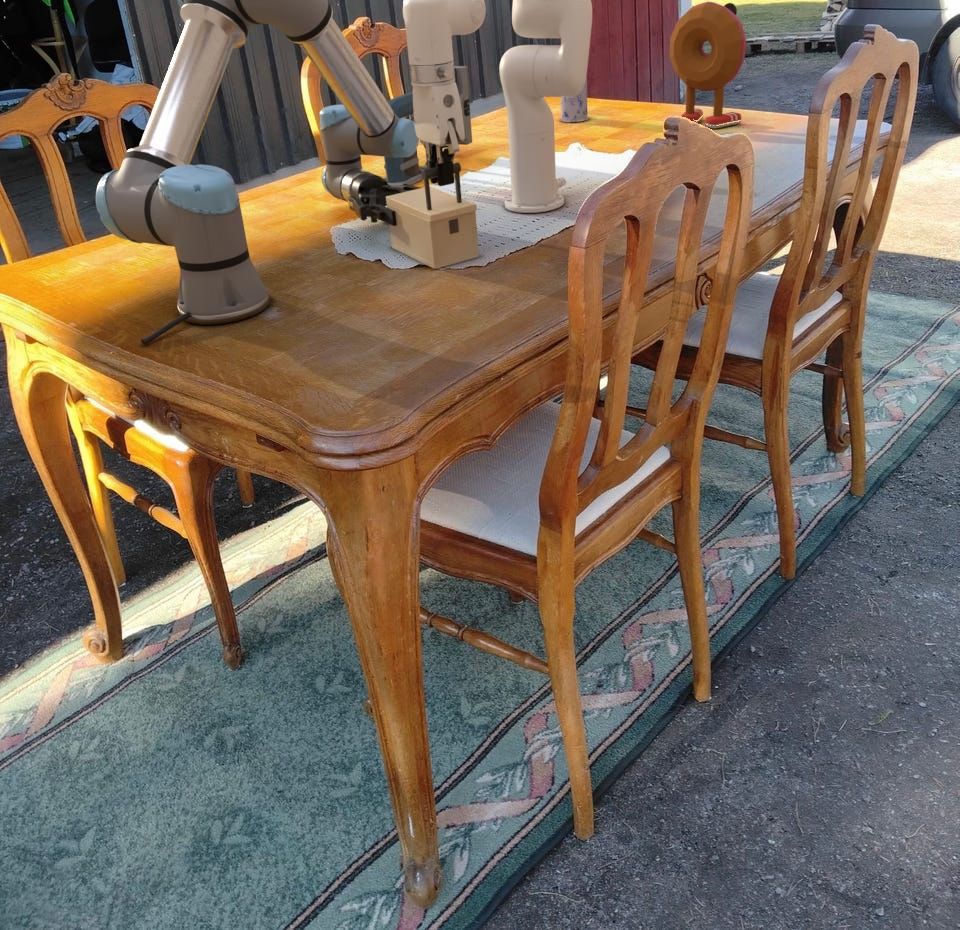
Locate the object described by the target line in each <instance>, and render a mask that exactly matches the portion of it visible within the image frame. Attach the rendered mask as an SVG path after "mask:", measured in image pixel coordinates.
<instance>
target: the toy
mask: <svg viewBox="0 0 960 930" xmlns="http://www.w3.org/2000/svg"><path fill="white" fill-rule="evenodd" d="M737 12H738V10H737V6H736V5H735V4H734V3H732V2H728V3H726V4H724V5H723V4H719V3H717V2H714V1H705V2H702V3H701V2H700V3H698V4H695V5H693V6H692V7H691V8H689V9H688V10H687V11H686V12H685V13H684V14H683V15H682V16H681V17H679V19H678V20H677V21H676V23H675V26H674V29H673V30H672V32H671V36H670V38H669V59H670V62H671V65H672V68H673V70H674V74H675V75H676V76H677V77H678V78H679V79H680V80H681V81H682V82H683V83H684V85H685V111H684V112H683V113H682V114H681V115H680V116H682V117H686V118H688V119H690V120H691V121H694V120H698V119H699V118H700V117H701V116H702V115H703V117H702V118H701V119H700V120H699V121H697V122H696V121H694V122H696V123H697V124H698V123H699V122H700V121H701V120H702V119H703V118H704V112H703V110H702V109H700V108H695V106H696V90H698V91H699V92H700V91H701V92H712V91H714V92H713V97H714V99H713V109H712V110H713V111H712V112H713V113H712V115H709V116H706V117H705V119H704V127H706V128H709V129H721V128H725V127H730V126H734V125H735V126H736V125H738V124H741V123H742V114H741V113H739V112H735V111H730V112H725V113H723V109H724V94H725V86H726V85H728V84H730V82H732V81H733V80H735V78H736V77H737V76H738V74H739V72H740V70H741V68H742V66H743V63H744V62H745V58H746V49H747V39H746V34H745V31H744V27H743V24H742V22H741V20H740V19H739V17H738V16H737V14H738V13H737ZM706 42H708V43H709V44H710V47H711V48H710V49H711V50H710V52H709V53H706V52H705V51H704V44H705V43H706ZM693 119H694V120H693ZM738 120H741V121H739V122H734V123H729V124H724V125H719V124H723V123H727V122H733V121H738ZM705 123H706V124H708V125H706V124H705ZM710 125H711V126H710ZM713 125H714V126H713ZM716 125H719V126H716Z"/></svg>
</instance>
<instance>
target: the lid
mask: <svg viewBox="0 0 960 930" xmlns="http://www.w3.org/2000/svg"><path fill="white" fill-rule="evenodd" d="M453 169H454V180H455V182H454V184H455V195H453V194H451V193H448V192H445V191H442V190H441V189H438V188H435V187H432V186H431V185H430V179H432V178H436V177H437V172H436V167H434V168H430V169H425V170H422V171H421V176H422V178H423V179H422V180H423V184H424V185H423V186H424V187H422V188H420V189H416V190H411V191H407V192H403V193H399V194H394V195H390V196H386V202H387V203H389V204H391V205H393V206H395V207H398V208H400V209H402V210H405V211H407V212H409V213H411V214H414V215H416V216H418V217H421V218H423V219H425V220H428V221H430V222H434V221H438V220H442V219H446V218H450V217H453V216H457V215H461V214H465V213H469V212H473V211H475V212H477V211H478V209H477V203H475V202H472V201H469V200H467V199H465V198H462V187H461V177H460V172H461V171H462V165H461V163H460V162H458V161H456V162H453Z"/></svg>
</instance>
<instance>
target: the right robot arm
mask: <svg viewBox="0 0 960 930" xmlns="http://www.w3.org/2000/svg"><path fill="white" fill-rule="evenodd" d="M402 4H403V5H402V17H403V21H404V28H405V29H404V30H405V37H406V47H407V56H408V57H407V58H408V64H409V65H408V66H409V76H410V77H409V78H410V85H411V86H412V91H413V113H412V114H413V118H414V125H415V131H416V136H417V137H418V138H419V143H420V144H421V145H422V147H424V150H425V149H426V151H425V156H426V155H427V159H428V160H430V161H429V169H430V168H434V167H436V172H437V177H436V178H432V179H429V182H430V183H431V184H437V186H439V187H444V186H448V185H452V184H455V174H454V169H453V163H454V160H455V154H456V153H459V152H460V149H461V148H460V145H459V144H458V142H463V141H464V139H465V134H464V124H463V116H462V109H461V103H460V97H459V93H458V89H457V85H456V83H455V71H454V66H455V60H454V49H453V36H466V35H470V34H472V33H474V32H476V31H478V29H480V28H481V26H482V24H483V23H484V21H485V17H486V12H487V11H486V10H487V9H486V8H487V7H486V3H485V0H403V3H402ZM511 24H512V28H513V32H515V34H516V35H518V36H519V37H522V38H528V39H560V44H523V45H515V46H513V47H511V48H509V49H508V50H506V51H504V54H503V55H502V57H501V59H500V61H499V68H498V69H499V70H498V71H499V79H500V84H501V87H502V91H503V96H504V103H505V108H506V110H505V111H506V118H507V119H506V121H507V137H508V153H509V154H508V156H509V173H510V174H509V176H510V188H511V189H510V190H511V192H510V193H511V196H509V197H507V198H506V199H505V200H504V207H505V209H506V210H508V211H510V212H514V213H521V214H536V213H545V212H549V211H553V210H557V209H559V208H561V207H562V206H563V205H564V204H565V198H564V196H563V195H562V194H560V193H559V189H561V188H562V187H565V186H566V184H567V179H566V178H565V177H564V176H561V177H558V178H557V173H556V171H557V170H556V168H557V167H556V143H555V139H556V138H555V118H554V114H553V112H552V109H551V107H550V105H549V103H548V102H547V100H546V99H545V98H561V97H574V96H576V95H578V94H579V93H580V92H581V91H582V89H583V87H584V85H585V81H586V76H587V77H588V68H589V67H588V65H589V57H590V48H591V36H592V28H593V27H592V26H593V4H592V0H512V7H511ZM445 140H448V142H445Z"/></svg>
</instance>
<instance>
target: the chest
mask: <svg viewBox="0 0 960 930" xmlns="http://www.w3.org/2000/svg"><path fill="white" fill-rule="evenodd" d="M386 207H387V208H389V209H392V210H394V211H395V214H396V222H397V225H396V226H392V225H390V224H388V226H389V233H390V234H389V235H390V241H391V242H390V243H391V248H392V249H394V250H395V251H398V252H400V253H401V254H403V255H406V256H408V257H410V258H412V259H414V260H415V261H418V262H419V263H422V264H423V265H426V266H428V267H429V268H432V269H434V270H437V269H440V268H443V267H447V266H450V265H455V264H458V263H462V262H466V261H469V260H472V259H475V258H479V257H480V253H479V252H480V251H479V239H478V228H477V227H478V226H477V215H476V213H477V211H473V212H469V213H465V214H461V215H457V216H453V217H450V218H446V219H442V220H438V221H434V222H430V221H428V220H425V219H423V218H421V217H418V216H416V215H414V214H411V213H409V212H407V211H405V210H402V209H400V208H398V207H395V206H393V205H391V204H389V203H387V206H386Z"/></svg>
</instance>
